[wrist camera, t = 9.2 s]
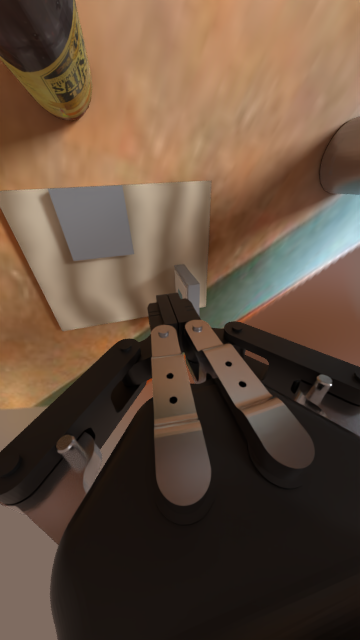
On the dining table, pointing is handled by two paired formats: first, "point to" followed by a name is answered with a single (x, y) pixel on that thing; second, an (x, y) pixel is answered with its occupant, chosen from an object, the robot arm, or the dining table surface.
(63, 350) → the dining table surface
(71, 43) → the sauce bottle
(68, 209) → the slate tile
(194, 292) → the slate tile
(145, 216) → the white flat sheet
